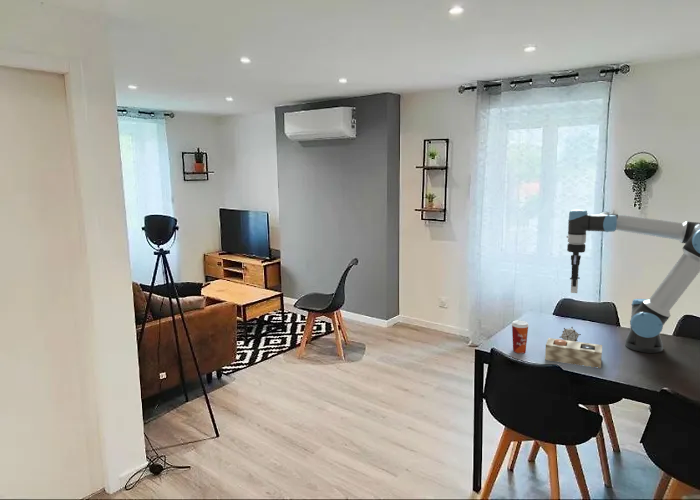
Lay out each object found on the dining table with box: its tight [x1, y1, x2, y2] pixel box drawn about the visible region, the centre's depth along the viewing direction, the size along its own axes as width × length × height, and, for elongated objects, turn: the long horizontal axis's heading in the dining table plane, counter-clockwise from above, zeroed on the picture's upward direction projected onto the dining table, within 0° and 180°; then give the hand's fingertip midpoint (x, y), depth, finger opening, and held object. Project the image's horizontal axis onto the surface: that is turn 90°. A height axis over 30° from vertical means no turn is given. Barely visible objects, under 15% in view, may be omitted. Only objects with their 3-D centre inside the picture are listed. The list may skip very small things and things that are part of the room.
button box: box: [544, 337, 603, 369], centre depth 207 cm, size 22×10×7 cm, turn 61°
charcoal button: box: [582, 345, 594, 350], centre depth 205 cm, size 5×5×6 cm
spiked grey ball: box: [559, 326, 581, 342], centre depth 227 cm, size 9×8×10 cm
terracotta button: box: [555, 338, 566, 346], centre depth 210 cm, size 5×5×6 cm
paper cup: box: [510, 319, 530, 354], centre depth 219 cm, size 8×8×14 cm
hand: (574, 292), depth 220 cm, fingers closed
